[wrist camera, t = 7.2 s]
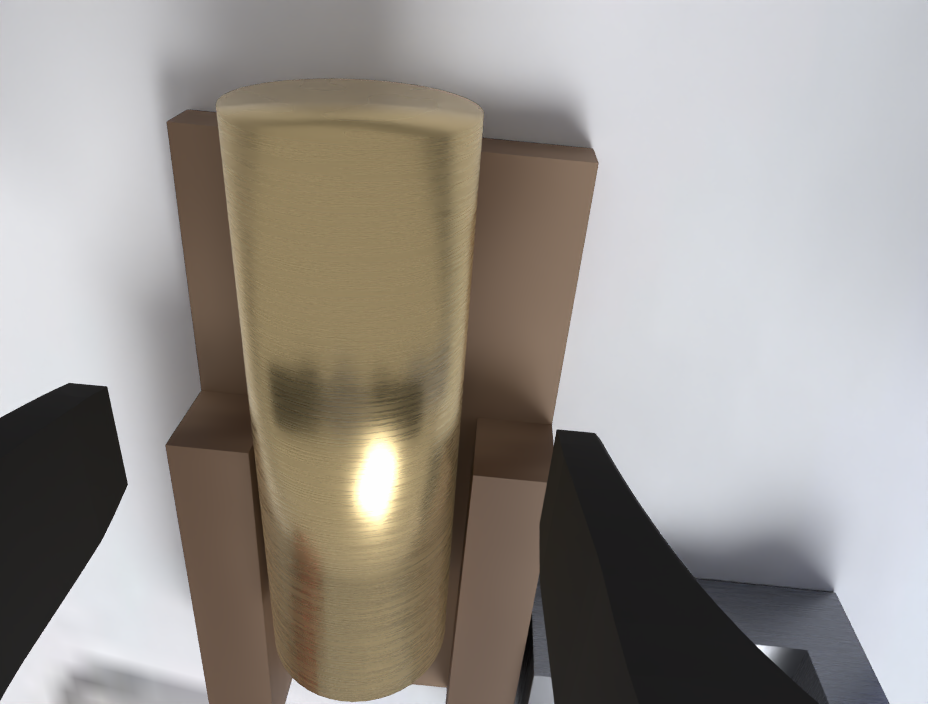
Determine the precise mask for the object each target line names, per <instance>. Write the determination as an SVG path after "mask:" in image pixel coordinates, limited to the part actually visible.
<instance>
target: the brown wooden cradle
mask: <svg viewBox="0 0 928 704" xmlns="http://www.w3.org/2000/svg"><path fill="white" fill-rule="evenodd" d="M167 129H168V137H169V144H170V152H171V160H172V167H173V175H174V183H175V190H176V198H177V206H178V214H179V221H180V229H181V237H182V244H183V252H184V260H185V267H186V275H187V283H188V290H189V298H190V306H191V314H192V321H193V329H194V337H195V344H196V352H197V360H198V367H199V375H200V383H201V392H200V393H199V395H198V396H197V398H196V399H195V401H194V402H193V404H192V406H191V407H190V409H189V410H188V412H187V413H186V415H185V416H184V418H183V419H182V421H181V422H180V424H179V425H178V427H177V428H176V430H175V431H174V433H173V434H172V436H171V437H170V439H169V440H168V442H167V443H166V445H165V446H166V452H167V458H168V464H169V469H170V475H171V481H172V487H173V493H174V499H175V505H176V511H177V517H178V523H179V528H180V534H181V540H182V546H183V552H184V558H185V564H186V570H187V576H188V582H189V588H190V593H191V599H192V605H193V611H194V617H195V623H196V629H197V635H198V641H199V647H200V652H201V658H202V664H203V670H204V676H205V682H206V688H207V694H208V700H209V704H285V701H286V698H287V695H288V691H289V688H290V684H291V681H292V677H291V676H290V674H289V673H288V672H287V670H286V669H285V668H284V666H283V664H282V662H281V660H280V658H279V655H278V652H277V648H276V643H275V634H274V625H273V616H272V607H271V598H270V589H269V580H268V571H267V562H266V553H265V544H264V535H263V526H262V517H261V508H260V499H259V490H258V481H257V472H256V463H255V454H254V445H253V436H252V427H251V418H250V409H249V400H248V391H247V382H246V373H245V364H244V355H243V346H242V337H241V328H240V319H239V310H238V301H237V292H236V283H235V274H234V265H233V256H232V247H231V238H230V229H229V220H228V211H227V202H226V193H225V184H224V175H223V166H222V157H221V148H220V139H219V129H218V120H217V112H207V111H197V110H186V111H184V112H182V113H181V114H179V115H177V116H176V117H174V118H172V119H170V120H169V121H167ZM597 169H598V160H597V158H596V155H595V152H594V150H593V148H582V147H572V146H561V145H551V144H540V143H530V142H520V141H509V140H499V139H488V138H482V145H481V159H480V172H479V185H478V198H477V211H476V225H475V238H474V251H473V264H472V278H471V291H470V304H469V317H468V330H467V344H466V357H465V370H464V383H463V397H462V410H461V423H460V436H459V449H458V463H457V476H456V489H455V502H454V516H453V529H452V542H451V555H450V568H449V582H448V595H447V608H446V621H445V634H444V639H443V643H442V646H441V648H440V651H439V653H438V655H437V657H436V659H435V660H434V662H433V663H432V665H431V666H430V667H429V668H428V670H427V671H426V672H425V673H424V674H423V675H422V676H421V677H420V678H419V679H417V680H416V681H415V682H413V683H412V684H416V685H426V686H436V687H446V688H447V694H446V704H514V702H515V697H516V692H517V686H518V681H519V676H520V671H521V666H522V660H523V655H524V650H525V645H526V640H527V635H528V629H529V624H530V619H531V614H532V609H533V604H534V598H535V593H536V588H537V583H538V578H539V573H540V563H539V524H540V518H541V513H542V507H543V502H544V496H545V491H546V486H547V480H548V475H549V469H550V464H551V458H552V453H553V448H554V445H553V433H552V421H553V415H554V409H555V404H556V398H557V393H558V387H559V381H560V376H561V370H562V365H563V359H564V354H565V348H566V342H567V337H568V331H569V326H570V320H571V314H572V309H573V303H574V298H575V292H576V286H577V281H578V275H579V270H580V264H581V258H582V253H583V247H584V242H585V236H586V231H587V225H588V219H589V214H590V208H591V203H592V197H593V191H594V186H595V180H596V175H597Z"/></svg>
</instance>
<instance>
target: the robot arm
mask: <svg viewBox="0 0 928 704" xmlns="http://www.w3.org/2000/svg"><path fill="white" fill-rule="evenodd" d="M127 485H128V483H127V478H126V474H125V469H124V464H123V459H122V455H121V450H120V445H119V440H118V436H117V431H116V426H115V421H114V417H113V412H112V407H111V403H110V398H109V393H108V388H107V387H106V386H95V385H85V384H74V383H68V384H66V385H64V386H62V387H59V388H57V389H55V390H53V391H51V392H49V393H47V394H45V395H43V396H41V397H39V398H37V399H35V400H33V401H31V402H29V403H27V404H25V405H23V406H21V407H20V408H18V409H16V410H14V411H12V412H10V413H8V414H6V415H5V416H3V417H1V418H0V700H1V698H2V697H3V695H4V693H5V691H6V689H7V688H8V686H9V684H10V683H11V681H12V679H13V678H14V676H15V674H16V673H17V671H18V669H19V668H20V666H21V664H22V663H23V661H24V660H25V658H26V657H27V655H28V654H29V652H30V650H31V649H32V647H33V646H34V644H35V643H36V641H37V640H38V638H39V637H40V635H41V634H42V632H43V631H44V629H45V628H46V626H47V625H48V623H49V621H50V620H51V618H52V617H53V615H54V614H55V612H56V611H57V609H58V608H59V606H60V605H61V603H62V602H63V600H64V599H65V597H66V595H67V594H68V592H69V591H70V589H71V588H72V586H73V585H74V583H75V582H76V580H77V579H78V577H79V575H80V574H81V572H82V571H83V569H84V568H85V566H86V565H87V563H88V561H89V560H90V558H91V557H92V555H93V554H94V552H95V550H96V549H97V547H98V546H99V544H100V542H101V541H102V539H103V537H104V535H105V533H106V531H107V529H108V527H109V525H110V523H111V521H112V519H113V517H114V514H115V512H116V510H117V508H118V505H119V503H120V501H121V499H122V496H123V494H124V492H125V490H126V487H127ZM539 563H540V589H541V598H542V606H543V615H544V623H545V631H546V640H547V648H548V656H549V664H550V672H551V680H552V689H553V697H554V704H819V703H818V702H817V701H816V700H814V699H813V698H812V697H811V696H810V695H809V694H808V693H806V692H805V691H804V690H803V689H802V688H801V687H800V686H799V685H798V684H796V683H795V682H794V681H793V680H792V679H791V678H790V677H789V676H788V675H787V674H786V673H785V672H784V671H783V670H781V669H780V668H779V667H778V666H777V665H776V664H775V663H774V662H773V661H772V660H771V659H770V658H769V657H768V656H766V655H765V654H764V653H763V652H762V651H761V650H760V649H759V648H758V647H757V646H756V645H755V644H754V643H753V642H752V641H751V640H750V639H749V638H748V637H747V636H746V635H745V634H744V633H743V632H742V631H741V630H740V629H739V628H738V627H737V626H736V624H735V623H734V622H733V621H732V620H731V619H730V618H729V617H728V616H727V615H726V614H725V613H724V611H723V610H722V609H721V608H720V607H719V606H718V605H717V604H716V603H715V602H714V600H713V599H712V598H711V597H710V596H709V595H708V594H707V592H706V591H705V590H704V589H703V588H702V586H701V585H700V584H699V583H698V582H697V580H696V579H695V578H694V577H693V576H692V574H691V573H690V572H689V570H688V569H687V568H686V567H685V565H684V564H683V563H682V562H681V560H680V559H679V558H678V557H677V555H676V554H675V553H674V551H673V550H672V549H671V547H670V546H669V545H668V543H667V542H666V541H665V539H664V538H663V537H662V535H661V534H660V532H659V531H658V529H657V528H656V527H655V525H654V524H653V522H652V521H651V519H650V518H649V517H648V515H647V514H646V512H645V511H644V509H643V508H642V507H641V505H640V504H639V502H638V500H637V499H636V497H635V496H634V494H633V493H632V491H631V490H630V488H629V487H628V485H627V483H626V482H625V480H624V479H623V477H622V475H621V474H620V472H619V471H618V469H617V467H616V466H615V464H614V462H613V461H612V459H611V457H610V455H609V454H608V452H607V450H606V449H605V447H604V445H603V443H602V442H601V440H600V439H599V437H598V436H597V435H596V434H595V433H589V432H578V431H568V430H557V431H556V437H555V442H554V448H553V453H552V458H551V464H550V469H549V475H548V480H547V486H546V491H545V496H544V502H543V507H542V513H541V518H540V524H539Z"/></svg>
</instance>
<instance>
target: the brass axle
mask: <svg viewBox="0 0 928 704" xmlns="http://www.w3.org/2000/svg"><path fill="white" fill-rule="evenodd" d="M216 111H217V120H218V129H219V139H220V148H221V157H222V166H223V175H224V184H225V193H226V202H227V211H228V220H229V229H230V238H231V247H232V256H233V265H234V274H235V283H236V292H237V301H238V310H239V319H240V328H241V337H242V346H243V355H244V364H245V373H246V382H247V391H248V400H249V409H250V418H251V427H252V436H253V445H254V454H255V463H256V472H257V481H258V490H259V499H260V508H261V517H262V526H263V535H264V544H265V553H266V562H267V571H268V580H269V589H270V598H271V607H272V616H273V625H274V634H275V643H276V648H277V652H278V655H279V658H280V660H281V662H282V664H283V666H284V668H285V669H286V670H287V672H288V673H289V674H290V676H291V677H292V678H293V679H294V680H296V681H297V682H298V683H299V684H300V685H302V686H303V687H305V688H306V689H307V690H309V691H311V692H313V693H315V694H317V695H320V696H323V697H326V698H329V699H334V700H339V701H350V702H358V701H369V700H375V699H379V698H383V697H386V696H389V695H392V694H394V693H396V692H398V691H401V690H402V689H404V688H406V687H407V686H409V685H411V684H412V683H413V682H415V681H416V680H417V679H419V678H420V677H421V676H422V675H423V674H424V673H425V672H426V671H427V670H428V668H429V667H430V666H431V665H432V663H433V662H434V660H435V659H436V657H437V655H438V653H439V651H440V648H441V646H442V643H443V639H444V634H445V621H446V608H447V595H448V582H449V568H450V555H451V542H452V529H453V516H454V502H455V489H456V476H457V463H458V449H459V436H460V423H461V410H462V397H463V383H464V370H465V357H466V344H467V330H468V317H469V304H470V291H471V278H472V264H473V251H474V238H475V225H476V211H477V198H478V185H479V172H480V159H481V145H482V132H483V119H484V112H483V110H482V108H481V107H480V106H479V105H478V104H476V103H474V102H473V101H471V100H469V99H467V98H464V97H462V96H459V95H456V94H453V93H450V92H446V91H442V90H438V89H434V88H429V87H424V86H418V85H412V84H405V83H397V82H388V81H378V80H364V79H298V80H285V81H275V82H267V83H261V84H255V85H250V86H246V87H242V88H239V89H236V90H233V91H230V92H228V93H226V94H224V95H223V96H221V97H220V98H219V99H218V100H217V102H216Z"/></svg>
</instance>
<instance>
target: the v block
mask: <svg viewBox="0 0 928 704" xmlns="http://www.w3.org/2000/svg"><path fill="white" fill-rule="evenodd" d="M696 580H697V582H698V583H699V584H700V585H701V586H702V588H703V589H704V590H705V591H706V592H707V594H708V595H709V596H710V597H711V598H712V599H713V600H714V602H715V603H716V604H717V605H718V606H719V607H720V608H721V609H722V610H723V611H724V613H725V614H726V615H727V616H728V617H729V618H730V619H731V620H732V621H733V622H734V623H735V624H736V626H737V627H738V628H739V629H740V630H741V631H742V632H743V633H744V634H745V635H746V636H747V637H748V638H749V639H750V640H751V641H752V642H753V643H754V644H755V645H756V646H757V647H758V648H759V649H760V650H761V651H762V652H763V653H764V654H765V655H766V656H768V657H769V658H770V659H771V660H772V661H773V662H774V663H775V664H776V665H777V666H778V667H779V668H780V669H781V670H783V671H784V672H785V673H786V674H787V675H788V676H789V677H790V678H791V679H792V680H793V681H794V682H795V683H796V684H798V685H799V686H800V687H801V688H802V689H803V690H804V691H805V692H806V693H808V694H809V695H810V696H811V697H812V698H813V699H814V700H816V701H817V702H818V703H819V704H889V702H888V700H887V698H886V695H885V693H884V691H883V689H882V687H881V685H880V683H879V681H878V679H877V677H876V675H875V673H874V671H873V669H872V667H871V665H870V663H869V661H868V658H867V656H866V654H865V652H864V650H863V648H862V646H861V644H860V642H859V640H858V638H857V636H856V634H855V632H854V630H853V628H852V626H851V624H850V621H849V619H848V617H847V615H846V613H845V611H844V609H843V607H842V605H841V603H840V601H839V599H838V597H837V595H836V593H833V592H823V591H813V590H803V589H793V588H783V587H772V586H762V585H752V584H742V583H732V582H722V581H712V580H702V579H696ZM514 704H554V697H553V689H552V680H551V672H550V664H549V656H548V648H547V640H546V631H545V623H544V615H543V606H542V598H541V589H540V573H539V578H538V583H537V588H536V593H535V598H534V604H533V609H532V614H531V619H530V624H529V629H528V635H527V640H526V645H525V650H524V655H523V660H522V666H521V671H520V676H519V681H518V686H517V692H516V697H515V702H514Z"/></svg>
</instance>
